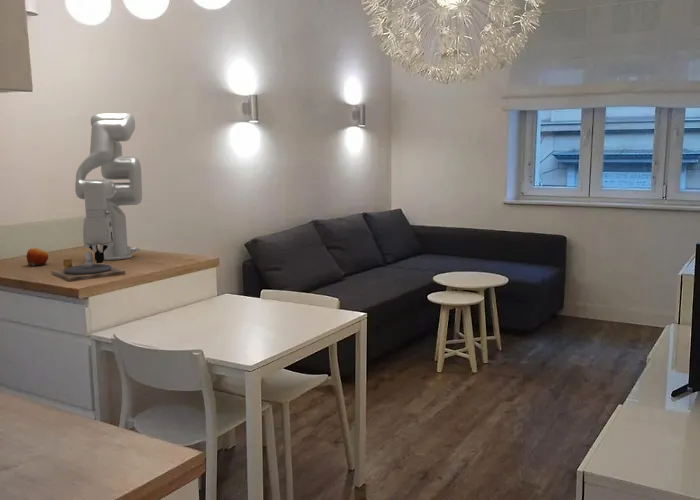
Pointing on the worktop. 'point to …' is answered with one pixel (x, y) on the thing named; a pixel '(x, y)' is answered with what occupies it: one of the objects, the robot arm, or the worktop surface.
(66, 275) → the stand
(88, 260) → the grey pot lid
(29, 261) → the fruit
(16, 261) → the worktop surface
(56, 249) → the worktop surface
